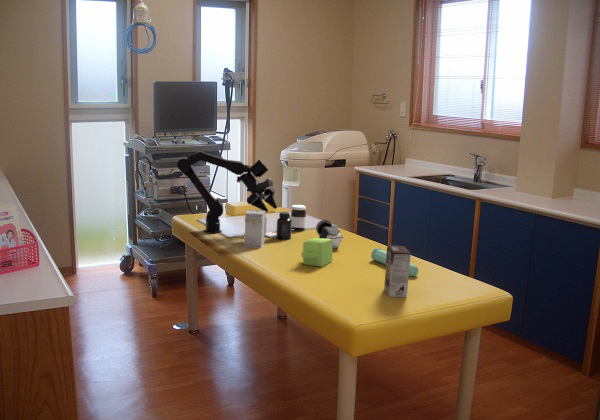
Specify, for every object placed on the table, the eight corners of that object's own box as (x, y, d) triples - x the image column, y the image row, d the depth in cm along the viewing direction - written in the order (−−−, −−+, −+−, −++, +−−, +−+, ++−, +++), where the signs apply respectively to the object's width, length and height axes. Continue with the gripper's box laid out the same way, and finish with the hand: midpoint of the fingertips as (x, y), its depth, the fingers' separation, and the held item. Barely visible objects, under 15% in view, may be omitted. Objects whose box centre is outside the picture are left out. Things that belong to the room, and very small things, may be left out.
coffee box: (383, 288, 224) (386, 245, 221) (401, 288, 224) (404, 245, 221) (389, 297, 215) (392, 251, 212) (407, 297, 216) (411, 252, 212)
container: (419, 261, 239) (380, 245, 260) (407, 269, 237) (369, 251, 258) (422, 274, 241) (383, 257, 262) (411, 282, 239) (372, 263, 260)
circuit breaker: (266, 240, 285) (267, 208, 282) (261, 248, 271) (262, 214, 268) (250, 239, 285) (251, 206, 282) (244, 246, 271) (245, 213, 269)
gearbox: (314, 256, 264) (315, 234, 262) (336, 259, 259) (337, 236, 258) (295, 265, 248) (296, 242, 246) (318, 268, 243) (318, 245, 242)
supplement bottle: (293, 237, 292) (294, 212, 289) (286, 240, 285) (288, 215, 283) (280, 235, 294) (281, 210, 292) (273, 238, 288) (274, 213, 286)
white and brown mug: (305, 231, 305) (306, 208, 302) (282, 230, 305) (283, 207, 302) (305, 226, 316) (306, 203, 314) (283, 225, 316) (284, 202, 314)
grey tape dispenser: (311, 237, 295) (312, 216, 293) (332, 237, 297) (333, 216, 295) (321, 251, 271) (322, 228, 269) (343, 251, 272) (345, 229, 270)
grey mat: (256, 234, 295) (256, 233, 295) (269, 231, 301) (269, 230, 301) (270, 238, 289) (270, 237, 289) (283, 235, 296) (283, 234, 296)
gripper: (253, 175, 281) (274, 202, 278) (272, 170, 297) (292, 196, 295) (237, 190, 285) (258, 217, 283) (256, 185, 302) (276, 210, 300)
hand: (272, 209), depth 290 cm, fingers open, 9 cm apart
